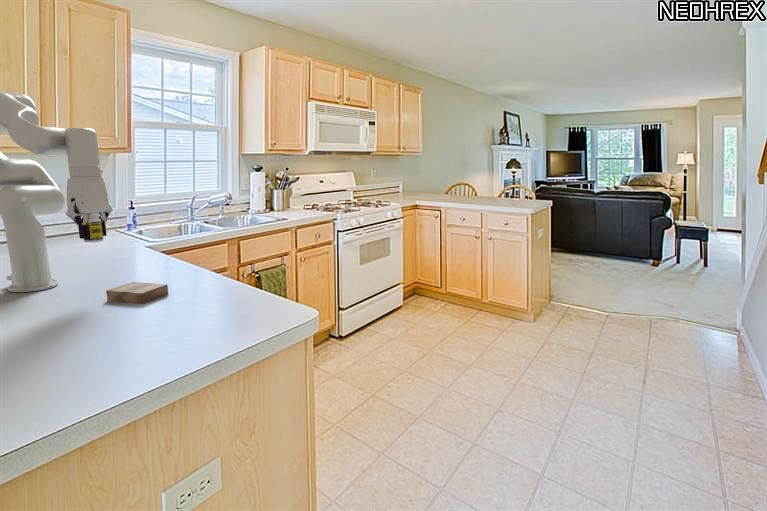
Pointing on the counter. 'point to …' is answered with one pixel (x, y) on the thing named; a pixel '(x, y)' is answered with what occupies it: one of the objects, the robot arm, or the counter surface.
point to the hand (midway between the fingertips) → (93, 236)
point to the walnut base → (137, 292)
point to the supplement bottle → (94, 228)
